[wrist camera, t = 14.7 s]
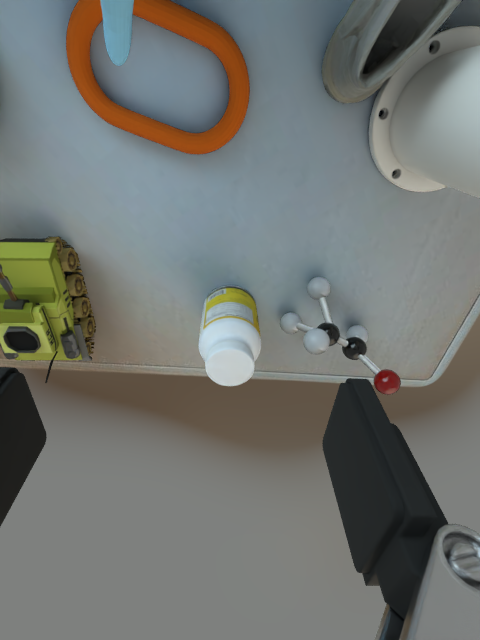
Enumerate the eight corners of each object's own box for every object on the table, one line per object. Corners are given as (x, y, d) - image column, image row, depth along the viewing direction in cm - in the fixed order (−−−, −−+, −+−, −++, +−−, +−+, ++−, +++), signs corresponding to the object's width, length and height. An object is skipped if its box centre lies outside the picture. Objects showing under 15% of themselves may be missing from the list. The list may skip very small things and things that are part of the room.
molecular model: (314, 269, 39) (339, 318, 30) (389, 312, 42) (431, 368, 33) (274, 320, 42) (286, 378, 34) (346, 356, 46) (374, 417, 37)
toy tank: (74, 228, 35) (26, 266, 27) (102, 340, 43) (72, 397, 35) (-7, 227, 35) (-80, 265, 27) (37, 340, 43) (-9, 397, 35)
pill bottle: (231, 336, 44) (231, 403, 34) (192, 307, 41) (181, 370, 31) (267, 304, 41) (278, 367, 31) (228, 272, 39) (227, 328, 29)
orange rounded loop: (67, -50, 23) (267, 44, 26) (76, -42, 24) (266, 47, 27) (58, 107, 28) (228, 171, 31) (67, 107, 29) (228, 168, 32)
